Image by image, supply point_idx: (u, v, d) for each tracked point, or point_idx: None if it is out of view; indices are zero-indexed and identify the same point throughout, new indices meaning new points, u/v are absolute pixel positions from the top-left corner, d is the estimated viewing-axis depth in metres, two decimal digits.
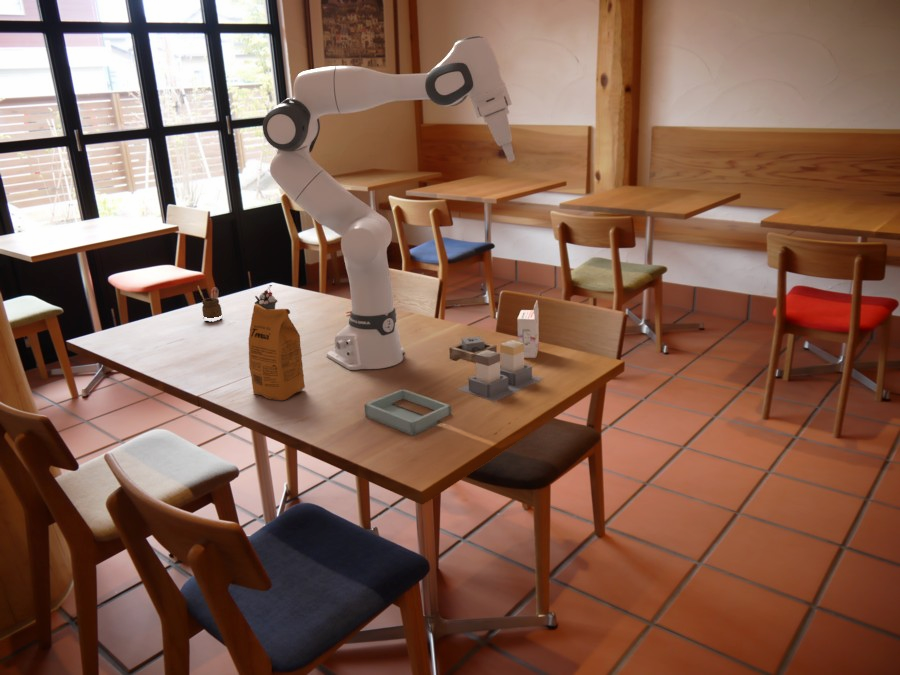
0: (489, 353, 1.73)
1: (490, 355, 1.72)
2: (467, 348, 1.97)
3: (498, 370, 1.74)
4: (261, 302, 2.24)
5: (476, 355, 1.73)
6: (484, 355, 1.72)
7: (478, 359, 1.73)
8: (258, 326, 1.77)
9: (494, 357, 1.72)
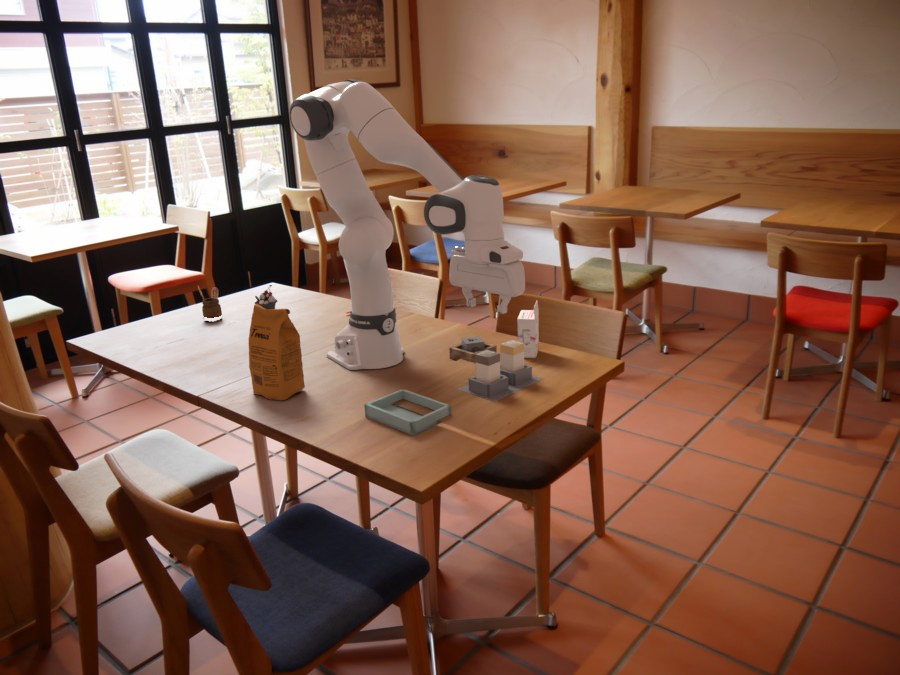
0: (489, 353, 1.73)
1: (490, 355, 1.72)
2: (467, 348, 1.97)
3: (498, 370, 1.74)
4: (261, 302, 2.24)
5: (476, 355, 1.73)
6: (484, 355, 1.72)
7: (478, 359, 1.73)
8: (258, 326, 1.77)
9: (494, 357, 1.72)
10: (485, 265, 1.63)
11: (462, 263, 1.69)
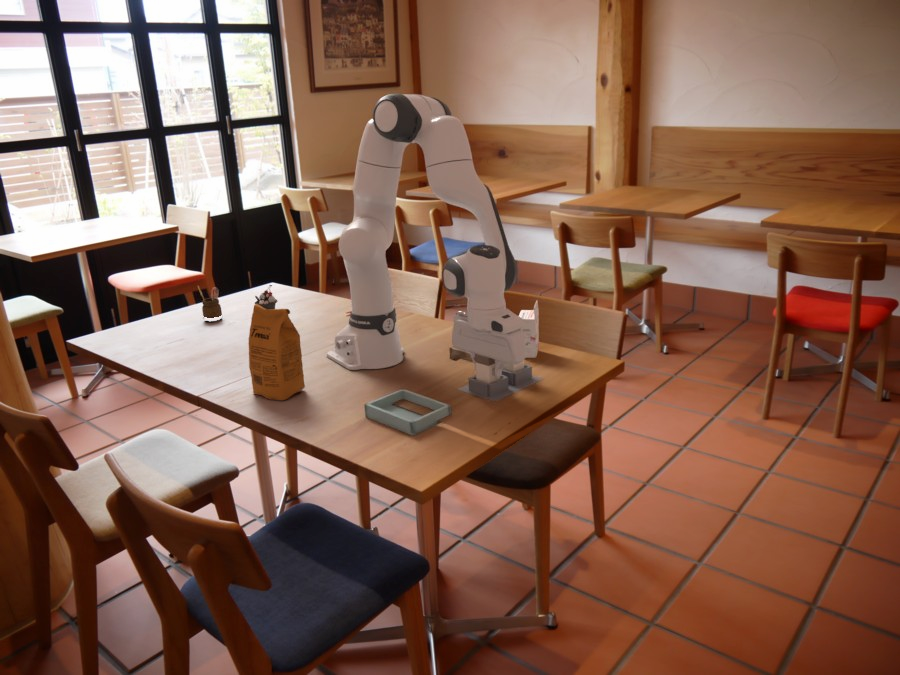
0: None
1: None
2: None
3: None
4: (261, 302, 2.24)
5: (476, 355, 1.73)
6: None
7: (478, 359, 1.73)
8: (258, 326, 1.77)
9: None
10: (487, 333, 1.68)
11: (464, 328, 1.74)
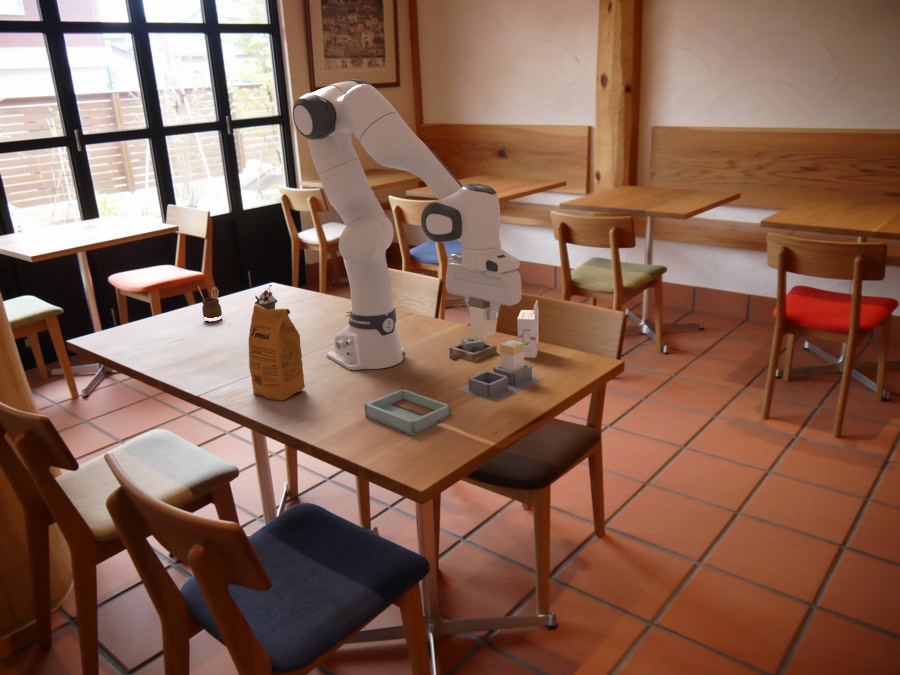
0: None
1: None
2: (467, 348, 1.97)
3: None
4: (261, 302, 2.24)
5: (470, 298, 1.68)
6: None
7: (472, 302, 1.68)
8: (258, 326, 1.77)
9: None
10: (481, 274, 1.64)
11: (458, 271, 1.69)
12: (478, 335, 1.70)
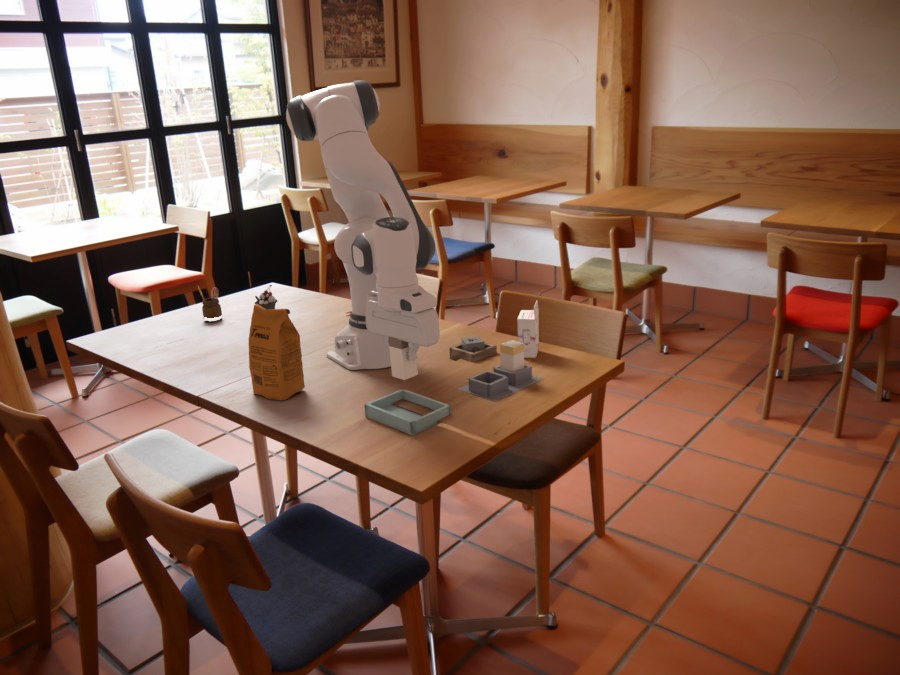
0: None
1: None
2: (467, 348, 1.97)
3: None
4: (261, 302, 2.24)
5: (389, 338, 1.59)
6: None
7: (391, 342, 1.59)
8: (258, 326, 1.77)
9: None
10: (398, 313, 1.54)
11: (377, 309, 1.60)
12: (398, 376, 1.60)
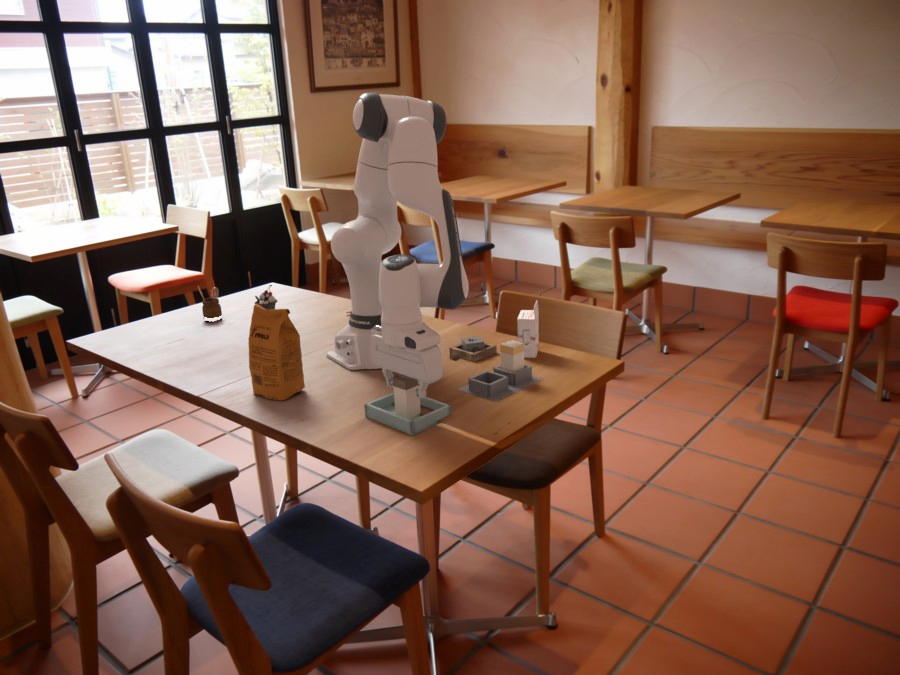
0: (407, 376, 1.62)
1: (408, 378, 1.61)
2: (467, 348, 1.97)
3: None
4: (261, 302, 2.24)
5: (393, 378, 1.62)
6: (401, 378, 1.61)
7: (395, 382, 1.62)
8: (258, 326, 1.77)
9: (412, 380, 1.61)
10: (402, 349, 1.57)
11: (381, 344, 1.62)
12: (402, 416, 1.63)
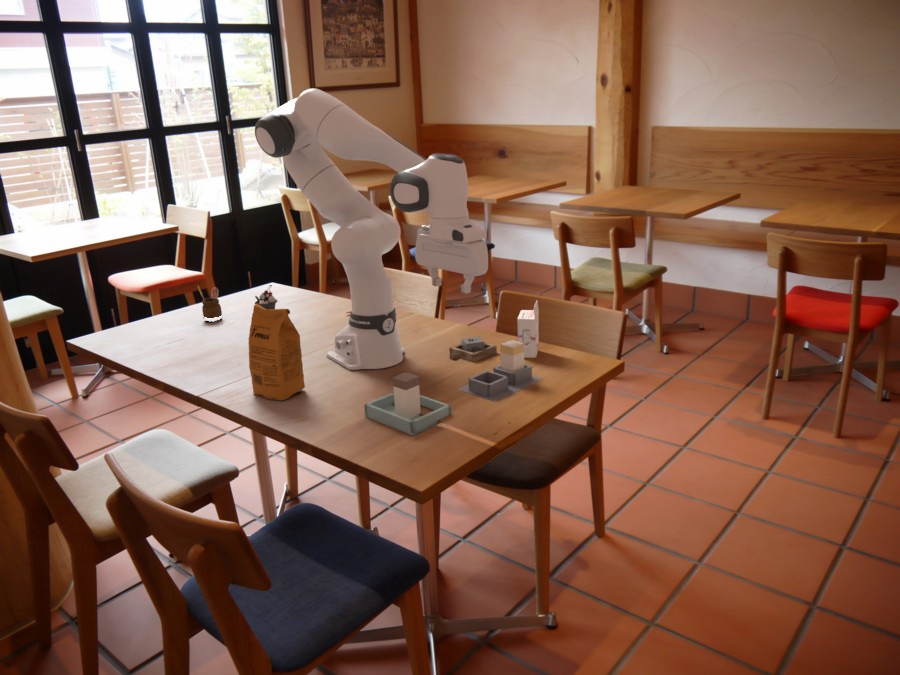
0: (407, 376, 1.62)
1: (408, 378, 1.61)
2: (467, 348, 1.97)
3: (417, 394, 1.63)
4: (261, 302, 2.24)
5: (393, 378, 1.62)
6: (401, 378, 1.61)
7: (395, 382, 1.62)
8: (258, 326, 1.77)
9: (412, 380, 1.61)
10: (448, 244, 1.63)
11: (427, 242, 1.68)
12: (402, 416, 1.63)
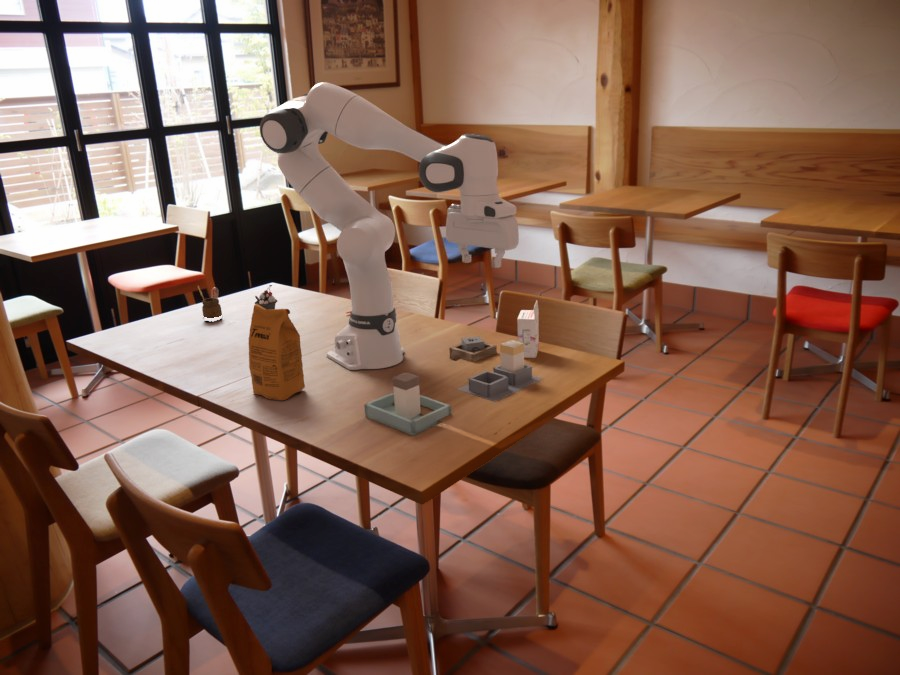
0: (407, 376, 1.62)
1: (408, 378, 1.61)
2: (467, 348, 1.97)
3: (417, 394, 1.63)
4: (261, 302, 2.24)
5: (393, 378, 1.62)
6: (401, 378, 1.61)
7: (395, 382, 1.62)
8: (258, 326, 1.77)
9: (412, 380, 1.61)
10: (480, 220, 1.70)
11: (458, 219, 1.75)
12: (402, 416, 1.63)
